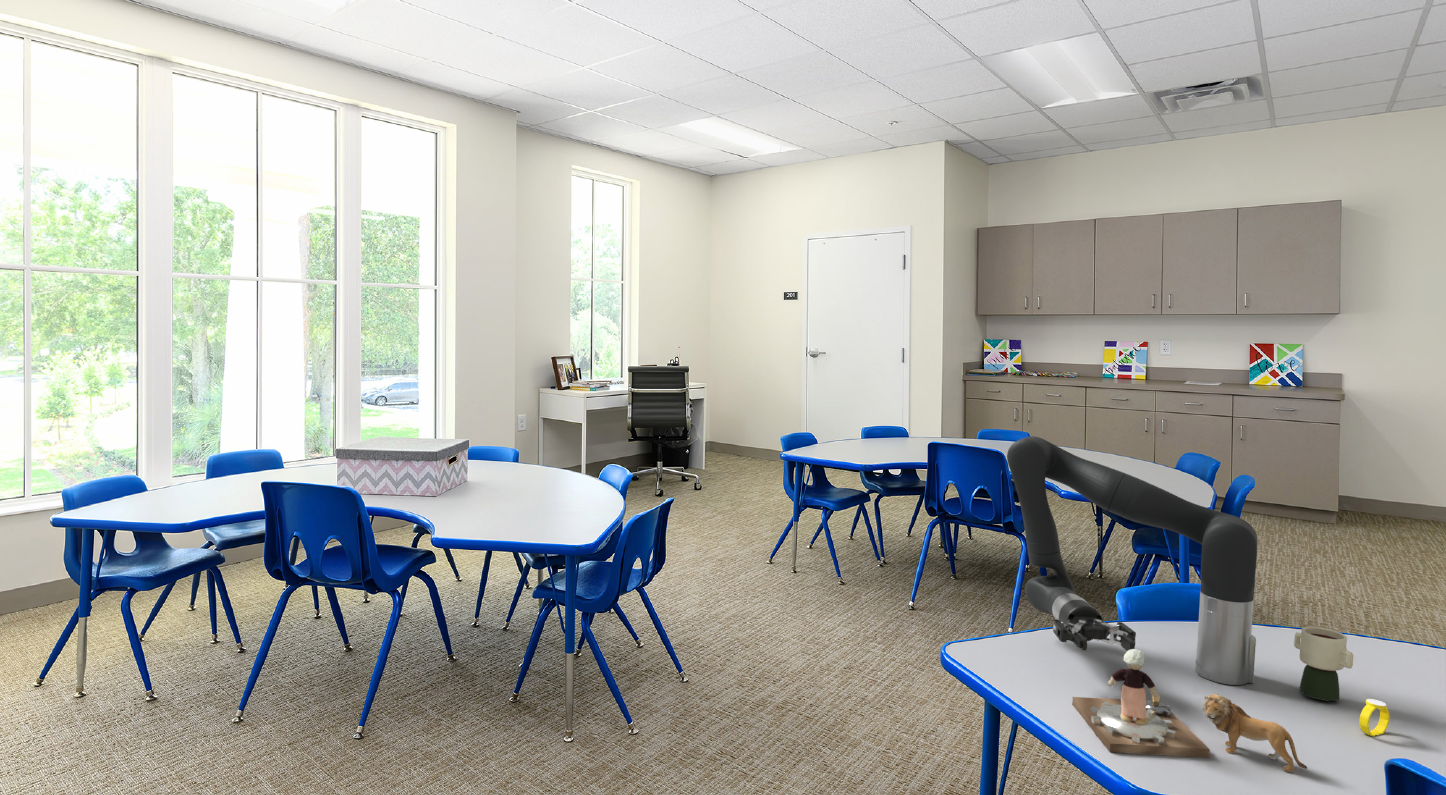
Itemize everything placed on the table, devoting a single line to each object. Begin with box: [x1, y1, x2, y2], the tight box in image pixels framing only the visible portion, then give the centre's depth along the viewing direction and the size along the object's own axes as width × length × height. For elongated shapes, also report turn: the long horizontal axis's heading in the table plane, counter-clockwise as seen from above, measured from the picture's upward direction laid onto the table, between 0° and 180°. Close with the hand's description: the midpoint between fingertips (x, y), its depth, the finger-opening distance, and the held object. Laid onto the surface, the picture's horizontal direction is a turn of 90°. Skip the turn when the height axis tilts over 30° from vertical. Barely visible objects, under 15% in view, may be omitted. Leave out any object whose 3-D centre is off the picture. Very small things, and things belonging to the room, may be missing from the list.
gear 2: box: [1146, 694, 1173, 718], centre depth 141 cm, size 6×5×3 cm
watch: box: [1358, 698, 1391, 737], centre depth 136 cm, size 6×3×6 cm, turn 110°
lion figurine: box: [1202, 693, 1308, 773], centre depth 128 cm, size 15×5×9 cm, turn 53°
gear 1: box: [1090, 702, 1176, 745], centre depth 135 cm, size 13×13×1 cm
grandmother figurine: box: [1108, 648, 1159, 725], centre depth 135 cm, size 8×4×13 cm, turn 69°
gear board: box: [1071, 696, 1210, 758], centre depth 137 cm, size 16×17×2 cm
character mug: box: [1293, 626, 1354, 701], centre depth 150 cm, size 11×7×13 cm, turn 17°
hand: (1108, 646), depth 146 cm, fingers open, 8 cm apart
